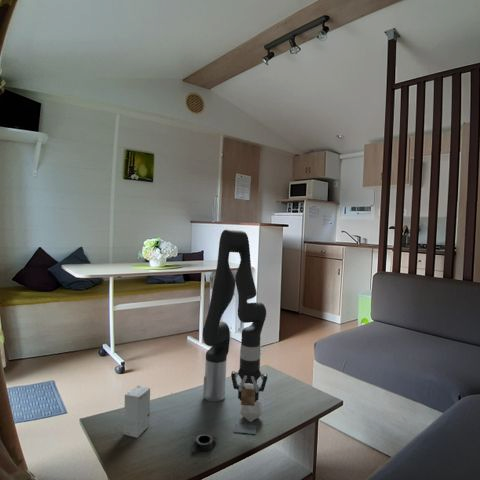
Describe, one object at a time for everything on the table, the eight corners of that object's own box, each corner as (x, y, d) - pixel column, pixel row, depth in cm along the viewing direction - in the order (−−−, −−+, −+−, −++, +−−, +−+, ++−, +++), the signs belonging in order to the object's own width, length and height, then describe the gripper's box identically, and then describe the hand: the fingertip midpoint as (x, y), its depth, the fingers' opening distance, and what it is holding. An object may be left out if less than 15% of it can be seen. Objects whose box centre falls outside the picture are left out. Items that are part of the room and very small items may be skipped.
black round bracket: (220, 453, 118) (220, 445, 118) (190, 456, 116) (190, 448, 116) (216, 439, 126) (217, 431, 125) (188, 441, 123) (189, 433, 123)
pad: (233, 432, 129) (233, 431, 129) (235, 424, 134) (235, 423, 134) (255, 434, 129) (255, 433, 129) (256, 426, 134) (256, 425, 134)
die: (265, 423, 137) (265, 396, 143) (253, 420, 131) (253, 392, 137) (247, 424, 142) (248, 397, 147) (235, 421, 136) (236, 393, 141)
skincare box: (137, 438, 123) (138, 397, 123) (122, 434, 125) (123, 394, 124) (150, 425, 131) (151, 387, 130) (136, 422, 133) (137, 384, 132)
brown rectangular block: (241, 404, 129) (241, 389, 129) (241, 399, 133) (242, 384, 133) (254, 406, 129) (255, 390, 128) (255, 400, 133) (255, 385, 132)
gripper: (229, 358, 127) (228, 403, 128) (269, 361, 125) (267, 407, 126) (232, 350, 134) (230, 393, 135) (269, 353, 133) (267, 397, 134)
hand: (248, 400), depth 131 cm, fingers closed on brown rectangular block, 5 cm apart
